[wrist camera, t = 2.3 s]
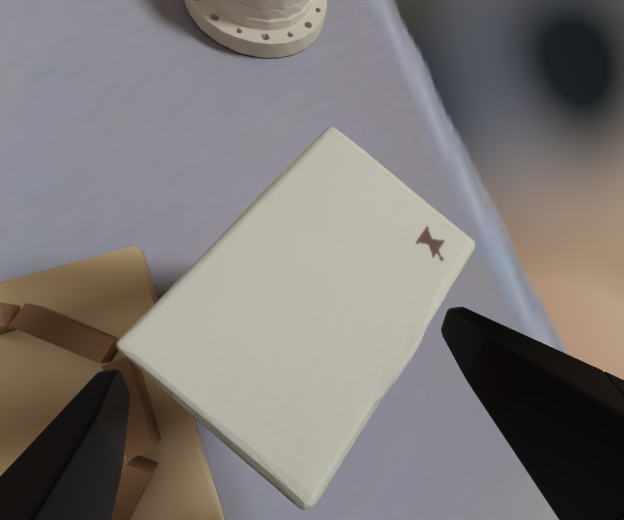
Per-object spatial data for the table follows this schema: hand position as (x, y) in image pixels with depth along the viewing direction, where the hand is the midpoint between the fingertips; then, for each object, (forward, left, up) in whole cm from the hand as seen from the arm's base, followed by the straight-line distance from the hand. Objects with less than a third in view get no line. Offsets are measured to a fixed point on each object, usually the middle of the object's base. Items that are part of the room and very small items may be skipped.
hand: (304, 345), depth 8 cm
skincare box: (+1, 0, -9) cm, 9 cm away
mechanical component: (+23, -7, -9) cm, 26 cm away
